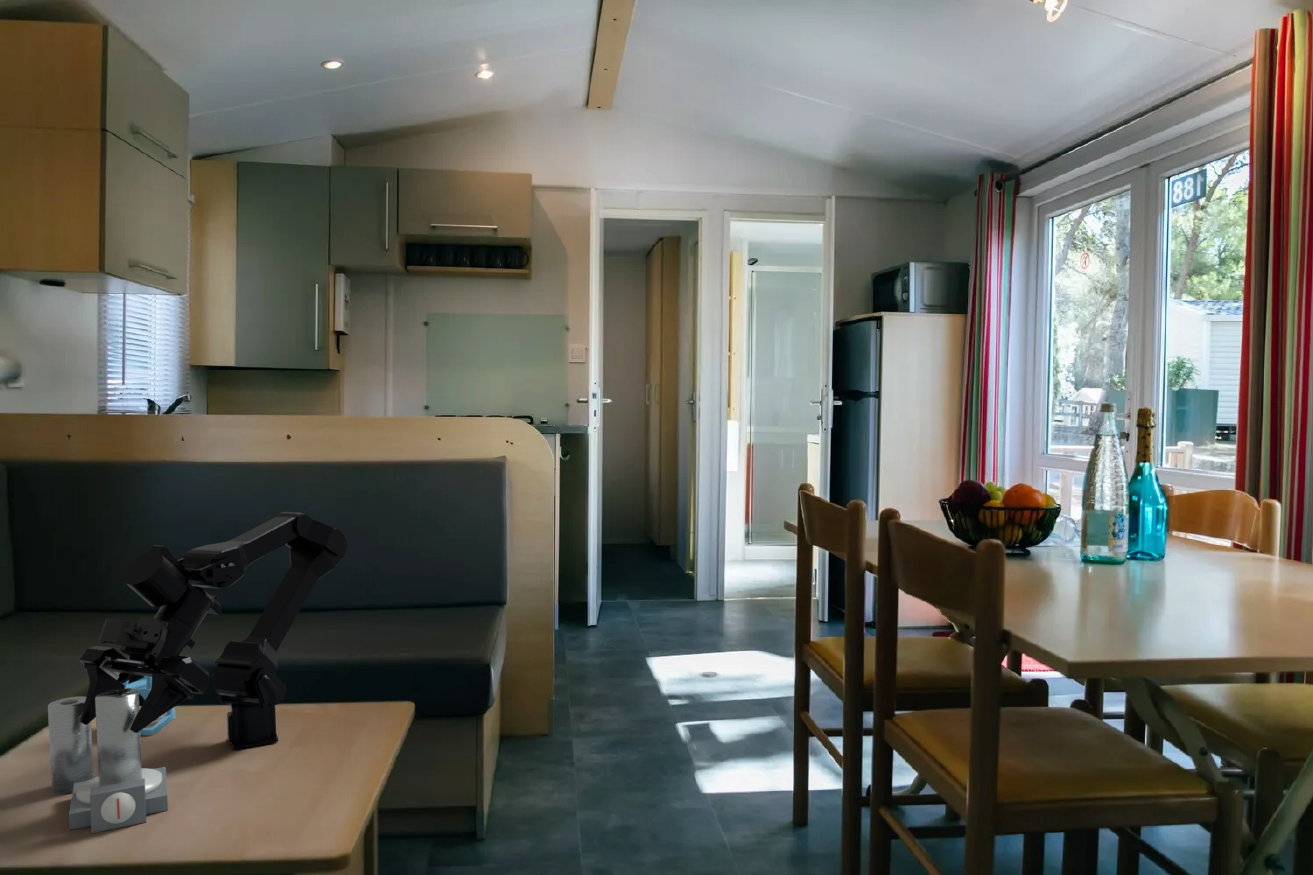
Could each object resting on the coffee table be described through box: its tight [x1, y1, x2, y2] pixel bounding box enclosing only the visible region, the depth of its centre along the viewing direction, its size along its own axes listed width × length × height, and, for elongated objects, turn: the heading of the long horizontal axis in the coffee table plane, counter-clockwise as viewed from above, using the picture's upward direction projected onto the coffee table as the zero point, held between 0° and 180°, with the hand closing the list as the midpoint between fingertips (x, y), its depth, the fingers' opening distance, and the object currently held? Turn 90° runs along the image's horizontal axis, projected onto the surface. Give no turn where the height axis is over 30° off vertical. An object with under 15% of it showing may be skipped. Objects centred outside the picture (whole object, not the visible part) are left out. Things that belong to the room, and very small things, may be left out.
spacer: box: [47, 696, 95, 795], centre depth 132 cm, size 5×5×12 cm
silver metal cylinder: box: [95, 688, 143, 787], centre depth 126 cm, size 5×5×12 cm
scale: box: [68, 766, 169, 834], centre depth 125 cm, size 11×14×5 cm
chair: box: [123, 657, 176, 737], centre depth 156 cm, size 8×8×12 cm
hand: (107, 727), depth 124 cm, fingers open, 9 cm apart
